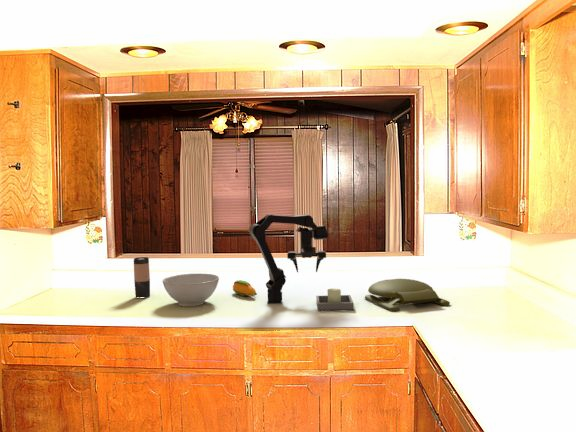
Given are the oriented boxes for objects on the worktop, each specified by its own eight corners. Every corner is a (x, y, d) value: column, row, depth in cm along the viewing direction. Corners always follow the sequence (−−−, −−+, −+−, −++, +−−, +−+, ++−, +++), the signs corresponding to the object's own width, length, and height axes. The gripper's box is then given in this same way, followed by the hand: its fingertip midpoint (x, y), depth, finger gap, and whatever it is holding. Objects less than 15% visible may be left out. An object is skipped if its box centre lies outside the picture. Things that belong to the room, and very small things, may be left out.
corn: (240, 276, 303) (261, 282, 286) (242, 291, 304) (262, 297, 287) (228, 279, 299) (248, 285, 282) (230, 294, 300) (249, 300, 283)
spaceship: (452, 306, 262) (452, 285, 261) (391, 313, 253) (391, 291, 252) (412, 291, 295) (412, 272, 295) (357, 297, 286) (357, 277, 285)
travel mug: (153, 296, 297) (152, 257, 295) (142, 299, 290) (141, 259, 289) (142, 294, 301) (141, 256, 299) (131, 297, 294) (130, 258, 292)
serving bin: (317, 311, 257) (317, 303, 257) (316, 303, 273) (316, 295, 273) (353, 310, 257) (353, 302, 257) (350, 302, 273) (350, 295, 273)
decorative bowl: (209, 294, 297) (208, 271, 296) (227, 305, 273) (226, 280, 272) (157, 301, 285) (156, 277, 284) (172, 312, 261) (170, 286, 260)
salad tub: (328, 306, 262) (327, 291, 262) (327, 303, 268) (327, 288, 268) (341, 306, 262) (341, 291, 261) (340, 303, 268) (340, 288, 267)
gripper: (286, 243, 273) (287, 275, 274) (326, 242, 273) (327, 274, 274) (287, 240, 284) (288, 271, 285) (325, 239, 284) (325, 270, 285)
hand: (307, 272), depth 282 cm, fingers open, 9 cm apart
